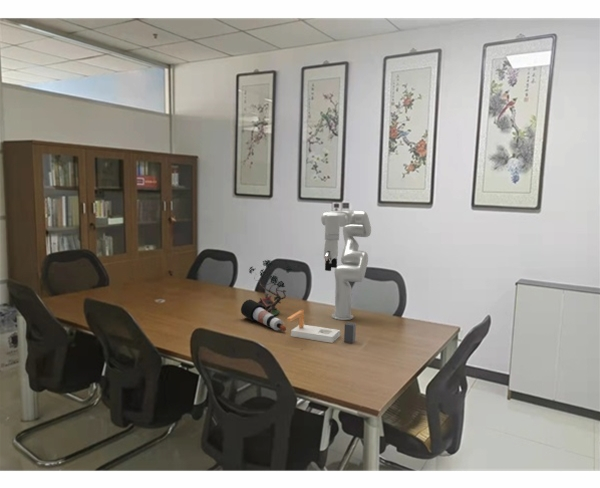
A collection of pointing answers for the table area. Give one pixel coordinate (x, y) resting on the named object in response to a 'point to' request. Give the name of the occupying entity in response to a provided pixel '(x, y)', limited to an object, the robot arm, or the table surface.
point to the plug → (349, 332)
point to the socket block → (316, 333)
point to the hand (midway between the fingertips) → (331, 269)
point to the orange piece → (296, 315)
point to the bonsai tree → (267, 301)
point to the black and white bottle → (261, 315)
